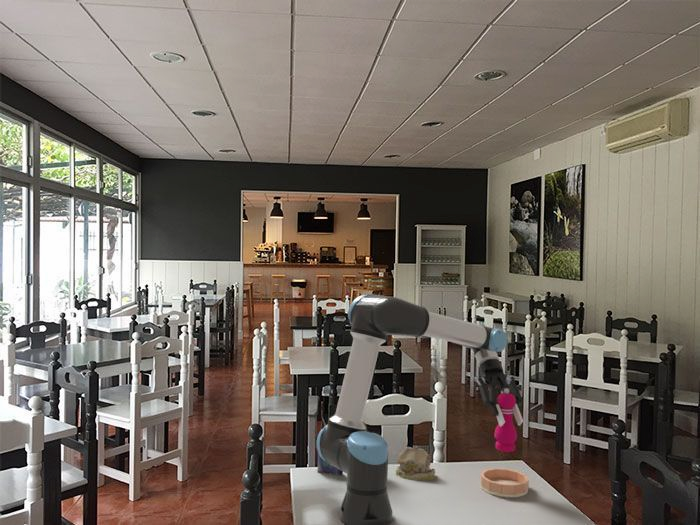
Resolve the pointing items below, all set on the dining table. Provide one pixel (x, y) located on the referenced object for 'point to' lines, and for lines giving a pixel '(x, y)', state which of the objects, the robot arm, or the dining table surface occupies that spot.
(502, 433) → the pepper mill
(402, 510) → the dining table surface
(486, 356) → the robot arm
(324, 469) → the flask
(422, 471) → the ceramic model
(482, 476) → the terracotta bowl
